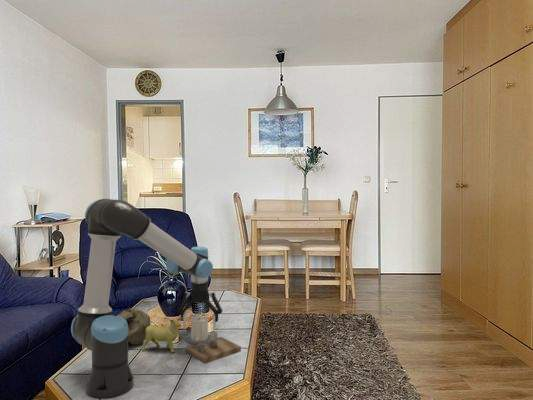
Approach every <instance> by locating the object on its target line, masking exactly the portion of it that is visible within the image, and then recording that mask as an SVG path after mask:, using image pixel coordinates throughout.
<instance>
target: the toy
mask: <svg viewBox="0 0 533 400" xmlns="http://www.w3.org/2000/svg"><path fill="white" fill-rule="evenodd" d="M181 319H182V317H181V316H180V317H179V318H177V319H169V322H170V323H169V325H167V326H164V325H163V326H162V325H159V324H150V326H148V327H147V328H146V330H145V331H146V336H145V338H144V339H143V344H142V348H141V351H142V352H146V351H147V350H146V345H147V344H148V342H152V343H153V344H155V346H156V347H157V349H158V348H160V346H161V345H160V343H159V342H167V344H166V349H167V350H170V353H171V354H176V351H175V350H174V345H173V343H174V341H176V340H177V338H178V333H179V329H180V328H181V327H182V324H181V323H180V322H181Z"/></svg>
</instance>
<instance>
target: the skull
mask: <svg viewBox="0 0 533 400" xmlns="http://www.w3.org/2000/svg"><path fill="white" fill-rule="evenodd" d="M149 315H150V314H147V313H146V312H145V311H144V310H143V311H142V310H139V309H137V308H135V307H134V308H133V307H130V308H128V309H126V310H123V311H122V312H120V313H119V314H117V315H116V316H120V317H122V318H124V319H125V320H126V321H127V324H128V343H129V345H130V346H131V345H132V346H133V345H138V344H140V343H141V342H142V341H144V340H145V339H146V331H145V330H146V328H147V327H148V326H151V317H150V316H149Z"/></svg>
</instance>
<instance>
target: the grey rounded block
mask: <svg viewBox="0 0 533 400" xmlns="http://www.w3.org/2000/svg"><path fill="white" fill-rule="evenodd" d="M190 321H191V322H190V336H191V339H192V340H194V341H196V342H198V341H203V340H206V339H207V338H208V335H209V333H208V332H209V331H208V330H209V329H208V328H209V320H208V317H207V316H205V315H197V316H192V318H191V320H190Z"/></svg>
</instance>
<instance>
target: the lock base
mask: <svg viewBox="0 0 533 400" xmlns="http://www.w3.org/2000/svg"><path fill="white" fill-rule="evenodd" d="M209 335H210V341H207V342H203V343H200V344H197V345H195V344H193V345H191V346H188V347H185V353H186V354H188V355H189V356H191V357H193V358H194V359H196V360H199V361H200V362H202V363H204V364H208V363H210V362H213V361H216V360H219V359H222V358H225V357H227V356H230V355H234V354H236V353H240V352H241V351H242V346H241V345H239V344H237V343H234V342H233V341H230V340H228V339H226V338H224V337H221V336H220V337H218V332H217V331H211V332H209ZM239 351H240V352H239Z"/></svg>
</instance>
